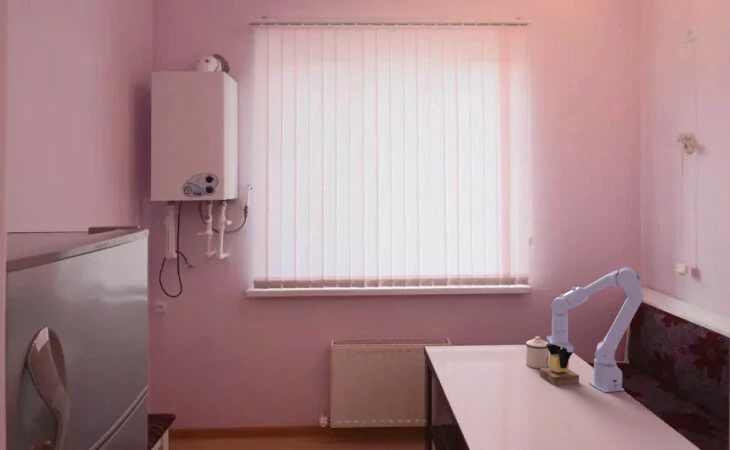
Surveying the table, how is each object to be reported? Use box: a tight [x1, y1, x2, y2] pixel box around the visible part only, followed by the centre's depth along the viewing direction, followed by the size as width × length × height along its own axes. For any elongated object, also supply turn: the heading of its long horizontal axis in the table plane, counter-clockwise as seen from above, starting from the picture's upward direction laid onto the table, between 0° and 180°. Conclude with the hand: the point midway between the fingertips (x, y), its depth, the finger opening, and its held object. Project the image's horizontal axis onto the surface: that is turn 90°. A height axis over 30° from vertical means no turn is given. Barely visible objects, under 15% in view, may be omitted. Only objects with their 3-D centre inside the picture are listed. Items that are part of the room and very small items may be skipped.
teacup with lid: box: [525, 336, 550, 369], centre depth 218 cm, size 12×9×12 cm
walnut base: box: [539, 367, 580, 386], centre depth 200 cm, size 10×10×3 cm
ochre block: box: [548, 354, 570, 372], centre depth 200 cm, size 5×5×5 cm
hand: (559, 365), depth 200 cm, fingers closed on ochre block, 5 cm apart
